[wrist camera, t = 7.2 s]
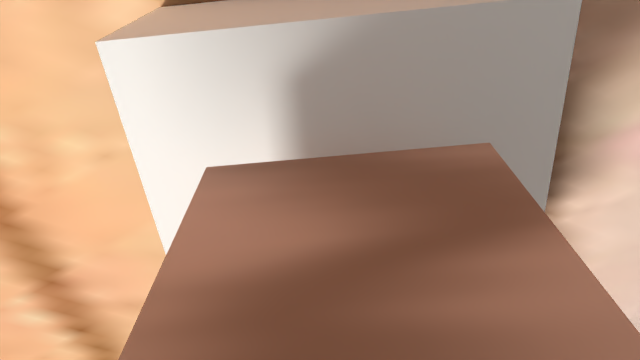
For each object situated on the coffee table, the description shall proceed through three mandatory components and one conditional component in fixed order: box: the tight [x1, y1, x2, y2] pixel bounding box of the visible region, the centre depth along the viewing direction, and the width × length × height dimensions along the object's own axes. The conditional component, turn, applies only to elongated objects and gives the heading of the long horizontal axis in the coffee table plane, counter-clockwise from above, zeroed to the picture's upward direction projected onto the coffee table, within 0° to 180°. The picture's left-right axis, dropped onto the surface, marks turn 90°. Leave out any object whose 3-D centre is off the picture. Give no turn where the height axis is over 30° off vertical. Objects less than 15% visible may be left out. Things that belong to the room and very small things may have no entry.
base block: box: [95, 0, 582, 255], centre depth 12 cm, size 9×9×4 cm
